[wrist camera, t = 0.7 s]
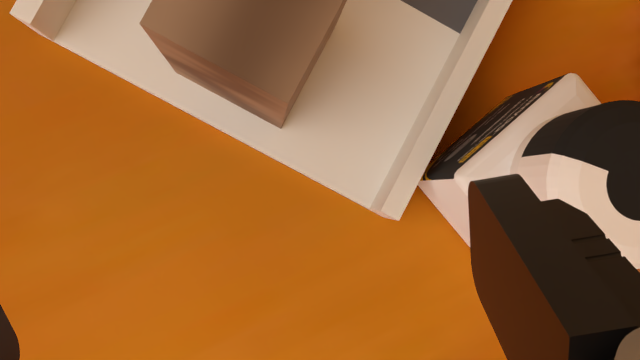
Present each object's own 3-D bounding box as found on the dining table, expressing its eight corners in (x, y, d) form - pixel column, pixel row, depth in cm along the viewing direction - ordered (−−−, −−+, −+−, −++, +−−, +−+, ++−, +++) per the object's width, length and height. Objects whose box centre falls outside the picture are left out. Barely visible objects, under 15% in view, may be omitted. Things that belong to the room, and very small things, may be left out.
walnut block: (175, 72, 30) (139, 23, 21) (232, -30, 31) (219, -121, 22) (280, 128, 31) (288, 103, 22) (334, 27, 31) (363, -39, 22)
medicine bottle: (508, 94, 32) (650, 39, 21) (589, 193, 33) (776, 195, 21) (410, 179, 32) (499, 172, 20) (494, 279, 32) (631, 332, 20)
